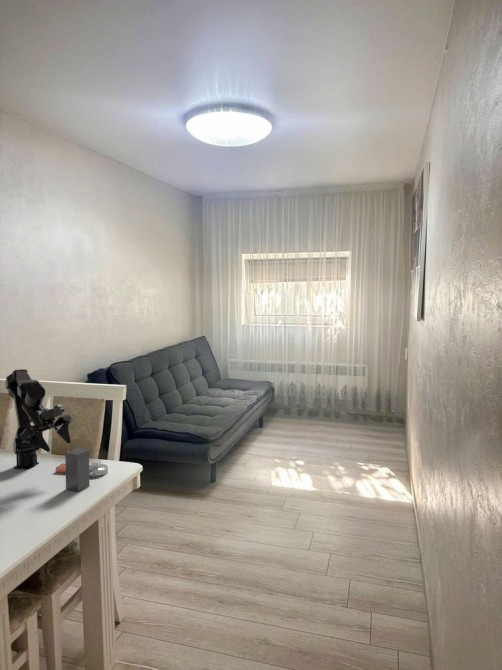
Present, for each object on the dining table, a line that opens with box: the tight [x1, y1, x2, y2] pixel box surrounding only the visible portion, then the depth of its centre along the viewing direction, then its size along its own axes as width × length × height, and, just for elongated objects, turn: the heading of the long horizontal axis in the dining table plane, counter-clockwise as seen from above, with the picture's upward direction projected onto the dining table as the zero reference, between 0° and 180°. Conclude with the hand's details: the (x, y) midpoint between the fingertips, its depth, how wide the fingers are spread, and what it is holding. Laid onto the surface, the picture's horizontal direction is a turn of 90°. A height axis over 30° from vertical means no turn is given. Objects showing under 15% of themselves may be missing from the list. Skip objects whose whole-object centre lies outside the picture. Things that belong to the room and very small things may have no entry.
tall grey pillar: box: [64, 447, 90, 493], centre depth 151 cm, size 5×5×13 cm
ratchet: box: [55, 459, 109, 479], centre depth 165 cm, size 19×8×4 cm, turn 82°
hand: (59, 446), depth 154 cm, fingers open, 9 cm apart
